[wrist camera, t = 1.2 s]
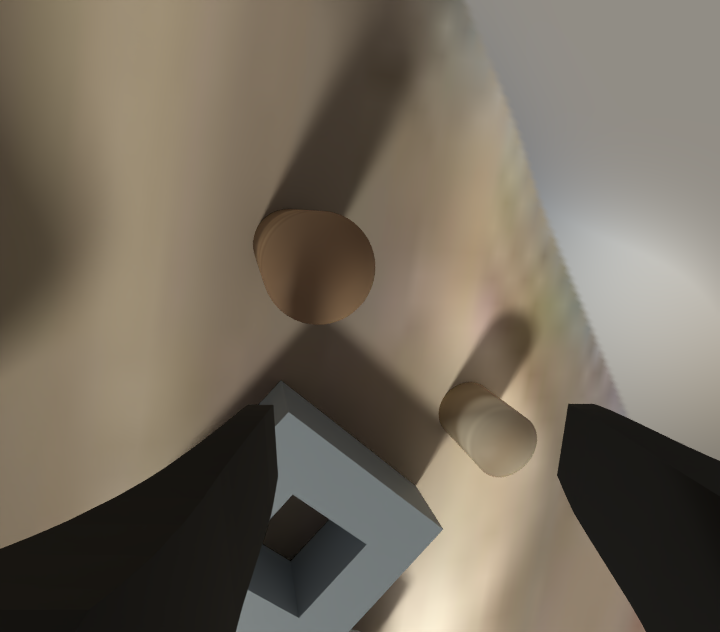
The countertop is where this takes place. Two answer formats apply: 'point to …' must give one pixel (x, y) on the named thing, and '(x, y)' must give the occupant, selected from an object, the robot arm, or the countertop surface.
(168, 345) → the countertop surface
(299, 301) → the walnut peg
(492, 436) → the birch peg
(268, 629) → the hole block
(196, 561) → the robot arm
